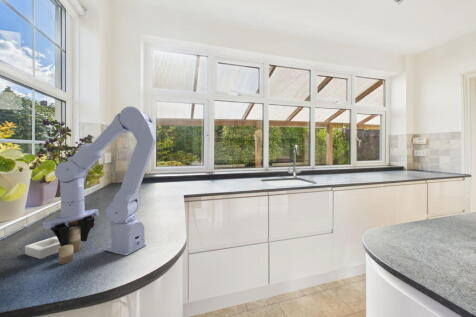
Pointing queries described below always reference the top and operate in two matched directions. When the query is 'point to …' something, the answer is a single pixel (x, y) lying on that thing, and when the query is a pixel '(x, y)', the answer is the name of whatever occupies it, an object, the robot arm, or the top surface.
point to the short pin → (66, 254)
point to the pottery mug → (75, 224)
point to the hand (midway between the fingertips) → (74, 244)
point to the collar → (43, 248)
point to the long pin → (75, 238)
